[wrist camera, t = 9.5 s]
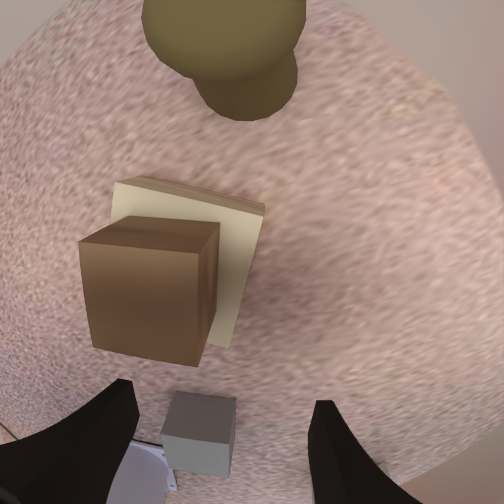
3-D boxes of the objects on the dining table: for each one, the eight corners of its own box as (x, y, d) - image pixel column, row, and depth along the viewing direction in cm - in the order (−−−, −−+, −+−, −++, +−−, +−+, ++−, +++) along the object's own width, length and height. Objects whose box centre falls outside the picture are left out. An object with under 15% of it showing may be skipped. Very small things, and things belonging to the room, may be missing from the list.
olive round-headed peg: (178, 94, 17) (78, 44, 7) (228, 15, 15) (185, -94, 5) (265, 139, 18) (256, 123, 7) (316, 58, 16) (362, -35, 6)
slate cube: (234, 434, 26) (228, 477, 21) (181, 427, 26) (168, 468, 21) (236, 398, 24) (229, 444, 19) (176, 390, 24) (160, 433, 19)
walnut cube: (216, 311, 17) (197, 367, 13) (132, 300, 18) (93, 347, 13) (220, 222, 16) (198, 254, 11) (128, 215, 16) (78, 241, 11)
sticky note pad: (236, 315, 22) (229, 348, 18) (128, 286, 22) (104, 311, 18) (265, 203, 19) (263, 216, 16) (143, 175, 19) (115, 182, 16)
